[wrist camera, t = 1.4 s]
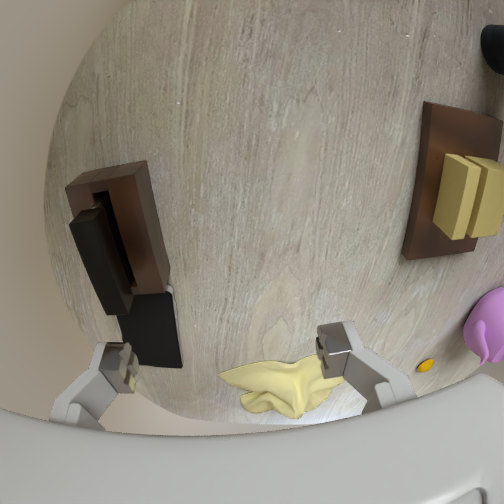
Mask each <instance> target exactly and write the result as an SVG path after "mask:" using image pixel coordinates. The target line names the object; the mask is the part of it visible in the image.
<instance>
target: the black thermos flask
mask: <svg viewBox="0 0 504 504" xmlns="http://www.w3.org/2000/svg"><path fill="white" fill-rule="evenodd" d="M481 45H482V51H483V54H484V57H485V59H486V61H487V63H488V65H489V66H490V67H491V68H492V70H494V71H495V72H496V73H498V74H503V75H504V25H487V26H486V27H485V28H484V29H483V31H482V34H481Z"/></svg>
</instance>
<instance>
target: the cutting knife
mask: <svg viewBox="0 0 504 504" xmlns="http://www.w3.org/2000/svg"><path fill="white" fill-rule="evenodd" d="M69 227H70V229H71V232H72V235H73V238H74V240H75V243H76V246H77V248H78V251H79V254H80V256H81V259H82V261H83V264H84V266H85V268H86V271H87V273H88V276H89V278H90V280H91V283H92V285H93V287H94V289H95V292H96V294H97V296H98V298H99V300H100V302H101V304H102V307H103V309H104V311H105V313H106V315H128V314H129V311H130V308H131V304H132V301H133V298H134V295H133V292H132V290H131V287H130V284H131V281H132V279H133V276H134V274H133V272H132V269H131V266H130V263H129V260H128V257H127V253H126V250H125V247H124V244H123V241H122V237H121V234H120V231H119V227H118V224H117V220H116V217H115V213H114V210H113V206H112V202H111V199H110V195H109V191H105V192H104V193H103V194H102V195H101V197H100V198H99V199H98V200H97V201H96V202H95V203H94V205H93V206H92V207H91V208H90V209H86V210H81V211H80V212H79V214H78V215H77V216H76V217H75V218H74V219H73V220H72V222H71V223H70V224H69Z"/></svg>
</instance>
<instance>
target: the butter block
mask: <svg viewBox="0 0 504 504" xmlns="http://www.w3.org/2000/svg"><path fill="white" fill-rule="evenodd" d="M465 159H466V160H468V161H470V162H472V163H473V164H475V165H477V166H479V167H480V168H481V172H480V177H479V182H478V187H477V191H476V196H475V200H474V204H473V208H472V212H471V216H470V219H469V223H468V226H467V230H466V234H468V235H469V236H470V237H471V238H475V237H484V236H494V235H497V233H498V230H499V226H500V223H501V220H502V217H503V213H504V166H503V165H501V164H499V163H497V162H495V161H494V160H492V159H486V158H479V157H471V156H465Z"/></svg>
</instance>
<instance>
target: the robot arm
mask: <svg viewBox="0 0 504 504" xmlns="http://www.w3.org/2000/svg"><path fill="white" fill-rule="evenodd" d="M317 334H318V337H317V338H316V353H317V357H318V359H319V360H320V361H321V366H320V368H321V371H322V375H323V378H324V379H329V378H335V377H341V376H343V378H344V379H345V380H346V381H347V382H348V383H349V384H350V385H352V386H353V387H354V388H355V389H356V390H357V391H358V392H359V393H360V394H361V395H362V396H363V397H365V398H366V399H367V400H368V401H367V403H366V405H365V407H364V409H363V411H362V414H361V415H357V416H353V417H349V418H344V419H340V420H335V421H330V422H325V423H320V424H315V425H310V426H304V427H298V428H290V429H283V430H276V431H267V432H257V433H246V434H233V435H213V436H163V435H162V436H161V435H142V434H130V433H120V432H110V431H105V428H104V427H103V426H102V425H101V424H100V423H99V422H98V420H99V419H100V417H101V416H102V414H103V413H104V412H105V410H106V409H107V408H108V407H109V405H110V404H111V403H112V401H113V400H114V399H115V397H116V396H117V395H118V393H134V391H135V386H136V380H135V378H134V377H135V376H136V375H137V374H138V369H139V363H138V358H137V356H136V354H135V353H133V352H132V351H131V348H132V347H131V345H130V344H129V343H127V342H98V343H97V344H96V347H95V350H94V353H93V356H92V359H91V362H90V365H89V368H88V370H85V371H84V372H83V373H82V374H81V375H80V376H79V377H78V378H77V379H76V380H75V381H74V382H73V383H72V384H71V385H70V386H69V387H68V388H66V389H65V390H64V391H63V392H62V393H61V394H60V395H59V396H58V397H57V398H56V399H55V402H54V405H53V408H52V412H51V415H50V419H49V421H46V420H42V419H37V418H33V417H29V416H26V415H22V414H19V413H15V412H11V411H8V410H5V409H1V408H0V504H504V384H502V383H501V382H499V381H498V380H496V379H494V378H492V377H490V376H488V375H486V374H484V373H478V374H475V375H473V376H470V377H468V378H466V379H464V380H461V381H459V382H457V383H454V384H452V385H450V386H447V387H445V388H442V389H440V390H437V391H434V392H432V393H429V394H426V395H423V396H421V397H418V398H417V395H416V393H415V391H414V389H413V386H412V384H411V382H410V379H409V377H408V375H407V374H406V373H404V372H403V371H401V370H400V369H398V368H397V367H395V366H394V365H392V364H391V363H390V362H388V361H387V360H385V359H384V358H382V357H381V356H379V355H378V354H376V353H375V352H374V351H372V350H371V349H369V348H365V347H364V345H363V342H362V340H361V338H360V335H359V333H358V331H357V328H356V326H355V324H354V321H352V320H349V321H343V322H336V323H330V324H325V325H319V326H318V327H317Z"/></svg>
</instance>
